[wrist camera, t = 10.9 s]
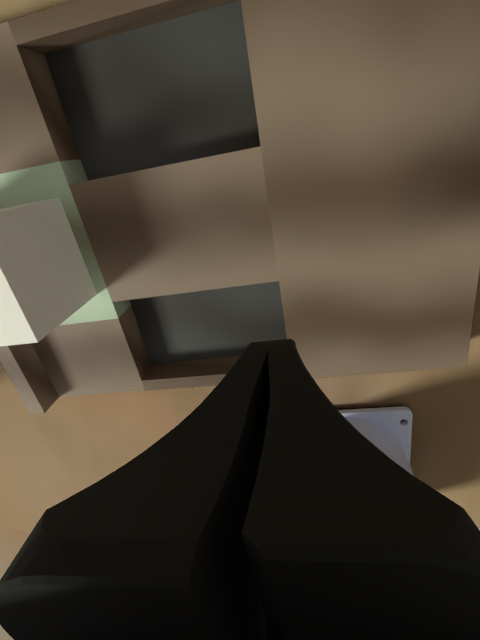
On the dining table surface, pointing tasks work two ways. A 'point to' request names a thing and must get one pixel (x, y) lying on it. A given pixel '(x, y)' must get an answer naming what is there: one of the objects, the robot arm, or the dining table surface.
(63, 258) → the block
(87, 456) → the dining table surface
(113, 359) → the trap deck
